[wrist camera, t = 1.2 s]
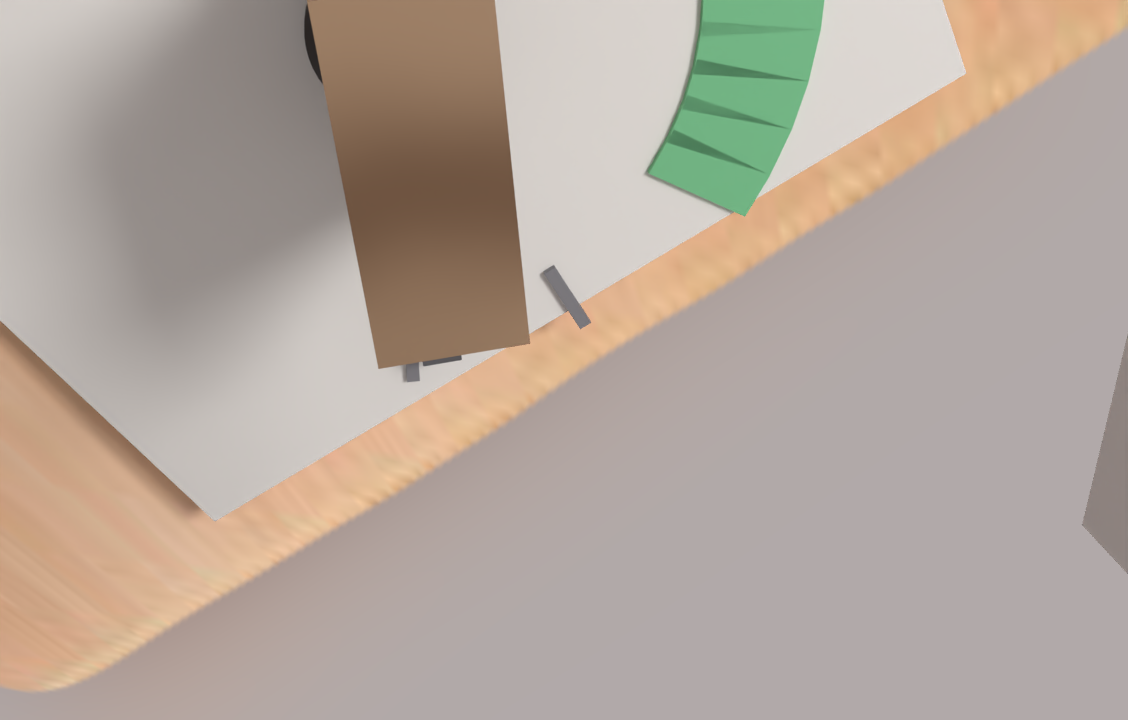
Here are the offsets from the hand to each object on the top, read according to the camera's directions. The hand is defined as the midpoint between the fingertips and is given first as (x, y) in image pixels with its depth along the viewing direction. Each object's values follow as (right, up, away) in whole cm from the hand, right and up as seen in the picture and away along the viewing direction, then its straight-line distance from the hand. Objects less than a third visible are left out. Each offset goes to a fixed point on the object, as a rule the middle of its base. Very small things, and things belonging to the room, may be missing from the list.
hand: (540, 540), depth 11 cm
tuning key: (-4, +8, +19) cm, 21 cm away
